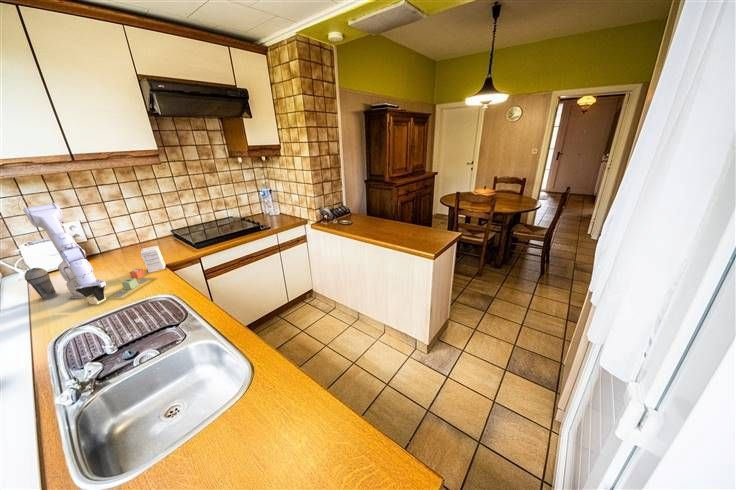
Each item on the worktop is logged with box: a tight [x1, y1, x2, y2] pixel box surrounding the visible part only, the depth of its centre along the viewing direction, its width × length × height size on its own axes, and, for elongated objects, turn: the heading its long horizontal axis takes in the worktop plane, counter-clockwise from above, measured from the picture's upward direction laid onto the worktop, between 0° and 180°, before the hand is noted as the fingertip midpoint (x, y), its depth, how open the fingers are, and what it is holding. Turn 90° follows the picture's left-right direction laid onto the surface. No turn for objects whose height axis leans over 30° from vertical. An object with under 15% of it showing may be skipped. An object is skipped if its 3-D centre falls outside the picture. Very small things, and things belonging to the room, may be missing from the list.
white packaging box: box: [140, 245, 167, 274], centre depth 148 cm, size 7×7×13 cm
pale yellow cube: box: [85, 294, 107, 305], centre depth 120 cm, size 4×4×4 cm
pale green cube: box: [120, 277, 140, 291], centre depth 131 cm, size 4×4×4 cm
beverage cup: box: [22, 260, 58, 301], centre depth 124 cm, size 7×7×20 cm
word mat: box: [111, 278, 151, 298], centre depth 131 cm, size 9×18×1 cm, turn 175°
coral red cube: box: [128, 268, 146, 279], centre depth 142 cm, size 4×4×4 cm
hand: (97, 299), depth 121 cm, fingers closed on pale yellow cube, 4 cm apart
